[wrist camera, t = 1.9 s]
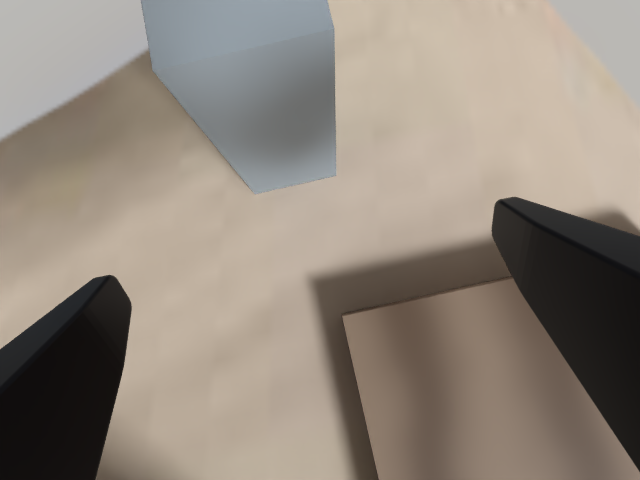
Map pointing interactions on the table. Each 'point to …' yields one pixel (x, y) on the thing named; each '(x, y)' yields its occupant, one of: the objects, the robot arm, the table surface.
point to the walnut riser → (475, 392)
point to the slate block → (253, 81)
